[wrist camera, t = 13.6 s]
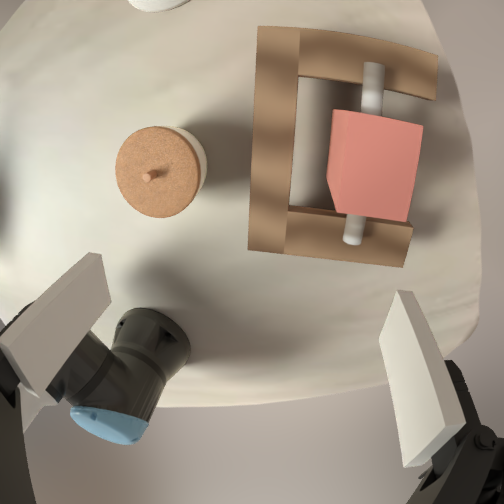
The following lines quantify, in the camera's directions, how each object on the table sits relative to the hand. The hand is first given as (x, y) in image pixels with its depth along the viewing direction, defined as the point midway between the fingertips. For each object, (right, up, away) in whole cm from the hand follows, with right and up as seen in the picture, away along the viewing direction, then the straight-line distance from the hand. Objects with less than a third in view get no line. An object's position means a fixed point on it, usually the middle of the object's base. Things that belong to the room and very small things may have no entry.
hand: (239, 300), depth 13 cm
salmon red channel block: (+12, +14, +19) cm, 26 cm away
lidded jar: (-9, +14, +26) cm, 31 cm away
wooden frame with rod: (+11, +15, +22) cm, 29 cm away
